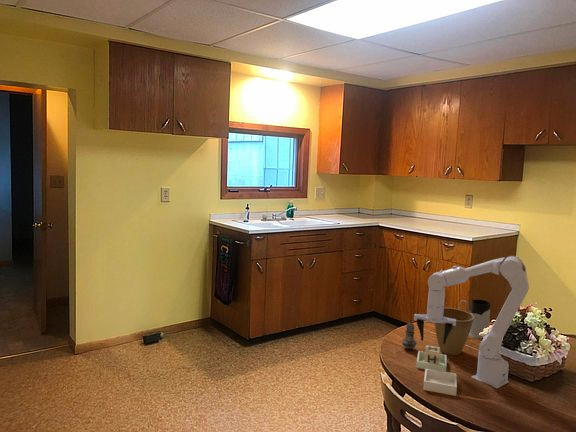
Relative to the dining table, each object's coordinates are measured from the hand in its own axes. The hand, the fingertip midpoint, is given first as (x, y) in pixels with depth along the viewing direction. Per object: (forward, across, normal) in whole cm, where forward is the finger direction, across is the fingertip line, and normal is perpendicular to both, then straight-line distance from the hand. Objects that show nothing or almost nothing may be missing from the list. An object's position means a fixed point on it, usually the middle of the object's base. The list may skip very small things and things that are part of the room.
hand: (433, 341), depth 170 cm
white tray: (+9, +3, -15) cm, 18 cm away
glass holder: (+10, +16, +43) cm, 47 cm away
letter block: (+9, 0, 0) cm, 9 cm away
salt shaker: (+10, -9, +12) cm, 18 cm away
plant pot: (+10, +7, +16) cm, 20 cm away
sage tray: (+9, 0, 0) cm, 9 cm away
